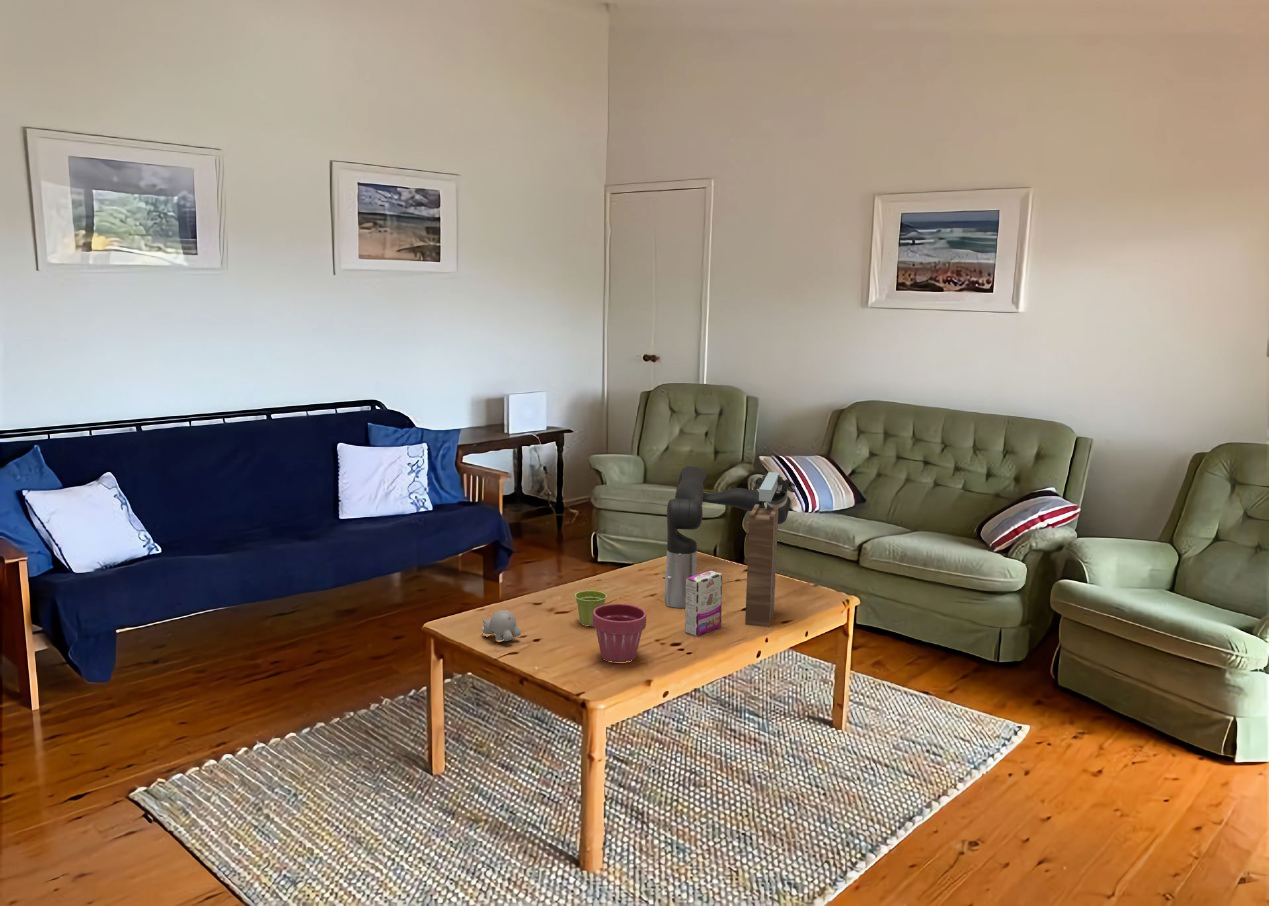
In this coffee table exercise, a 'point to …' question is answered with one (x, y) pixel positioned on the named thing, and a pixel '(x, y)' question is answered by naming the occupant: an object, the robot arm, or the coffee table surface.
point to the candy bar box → (703, 603)
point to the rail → (768, 487)
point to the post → (761, 566)
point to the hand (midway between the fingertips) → (772, 477)
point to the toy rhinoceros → (502, 625)
